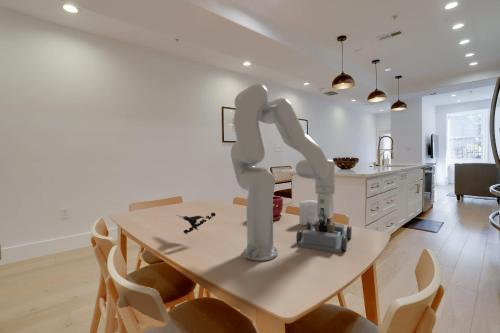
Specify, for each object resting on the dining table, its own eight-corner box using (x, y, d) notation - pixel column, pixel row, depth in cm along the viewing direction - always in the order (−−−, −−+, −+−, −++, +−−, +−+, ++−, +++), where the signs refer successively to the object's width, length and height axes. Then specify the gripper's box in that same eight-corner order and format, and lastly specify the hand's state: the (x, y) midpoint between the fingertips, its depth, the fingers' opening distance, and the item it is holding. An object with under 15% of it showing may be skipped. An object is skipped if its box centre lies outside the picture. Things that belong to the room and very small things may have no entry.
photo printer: (317, 222, 128) (317, 198, 127) (320, 224, 124) (320, 200, 123) (298, 223, 127) (298, 199, 126) (301, 226, 122) (300, 201, 122)
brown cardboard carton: (332, 239, 98) (332, 225, 98) (315, 237, 101) (314, 223, 101) (334, 236, 102) (334, 222, 102) (317, 234, 105) (317, 220, 105)
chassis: (344, 254, 88) (344, 239, 88) (295, 245, 97) (295, 232, 96) (352, 235, 107) (352, 223, 107) (310, 229, 116) (310, 218, 116)
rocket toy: (185, 219, 95) (160, 210, 112) (186, 235, 96) (161, 224, 113) (216, 213, 105) (189, 205, 122) (216, 227, 105) (189, 217, 122)
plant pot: (286, 220, 132) (286, 198, 132) (262, 222, 130) (262, 200, 129) (279, 214, 145) (279, 194, 144) (257, 216, 143) (257, 195, 142)
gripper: (330, 193, 91) (330, 240, 92) (338, 187, 107) (338, 227, 108) (310, 192, 95) (310, 237, 96) (320, 186, 110) (320, 225, 111)
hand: (325, 231), depth 102 cm, fingers open, 7 cm apart
